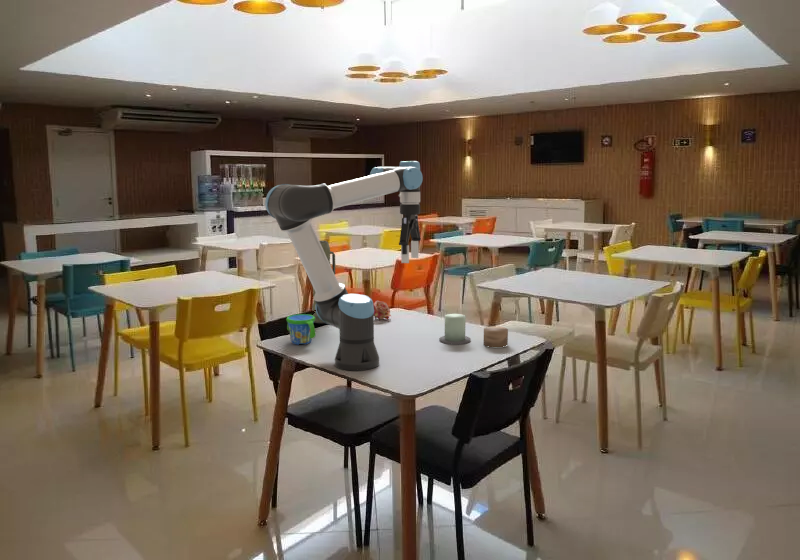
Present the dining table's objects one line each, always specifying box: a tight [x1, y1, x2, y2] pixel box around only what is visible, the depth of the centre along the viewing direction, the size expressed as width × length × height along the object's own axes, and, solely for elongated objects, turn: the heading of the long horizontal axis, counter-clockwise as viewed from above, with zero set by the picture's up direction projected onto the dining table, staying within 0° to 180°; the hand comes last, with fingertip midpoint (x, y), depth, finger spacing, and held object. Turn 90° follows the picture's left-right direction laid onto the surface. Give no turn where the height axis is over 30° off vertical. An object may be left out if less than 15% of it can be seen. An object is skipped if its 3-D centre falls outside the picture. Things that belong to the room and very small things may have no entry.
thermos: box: [311, 240, 336, 324], centre depth 282 cm, size 9×12×35 cm
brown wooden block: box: [483, 325, 509, 348], centre depth 246 cm, size 9×9×6 cm
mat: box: [439, 335, 471, 346], centre depth 253 cm, size 12×12×1 cm
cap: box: [444, 313, 466, 342], centre depth 252 cm, size 8×8×9 cm
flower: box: [373, 299, 392, 321], centre depth 288 cm, size 10×9×8 cm
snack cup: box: [285, 313, 317, 346], centre depth 250 cm, size 16×10×10 cm
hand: (410, 260), depth 245 cm, fingers open, 13 cm apart
